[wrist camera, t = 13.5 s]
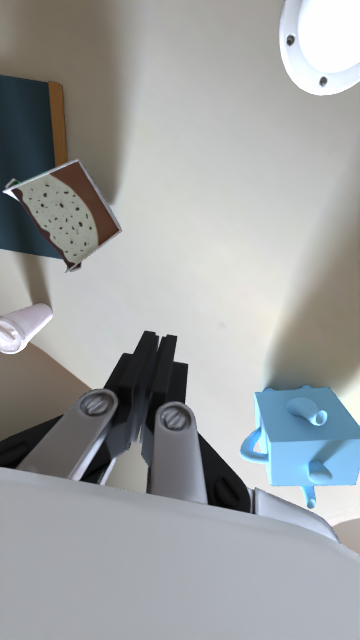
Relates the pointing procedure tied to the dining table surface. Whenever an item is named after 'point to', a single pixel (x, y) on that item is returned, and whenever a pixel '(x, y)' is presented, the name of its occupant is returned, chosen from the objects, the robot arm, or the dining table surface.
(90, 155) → the dining table surface
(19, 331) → the smoothie
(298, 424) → the teakettle
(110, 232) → the food container
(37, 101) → the dark blue notebook
